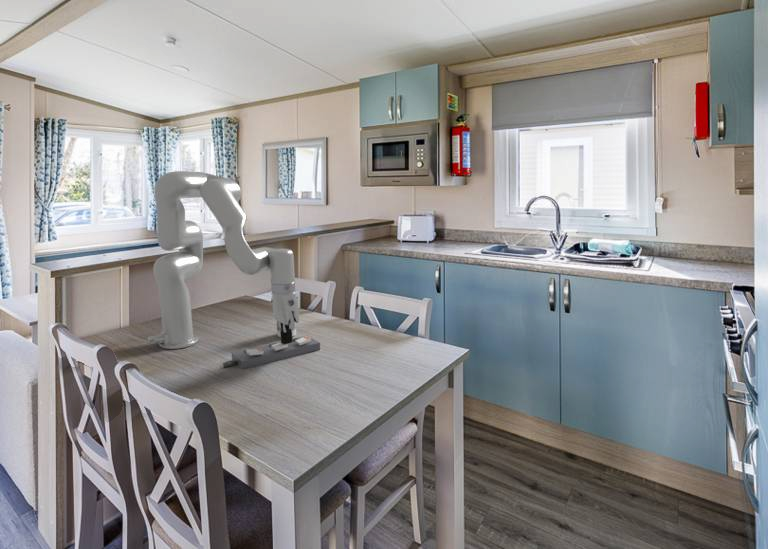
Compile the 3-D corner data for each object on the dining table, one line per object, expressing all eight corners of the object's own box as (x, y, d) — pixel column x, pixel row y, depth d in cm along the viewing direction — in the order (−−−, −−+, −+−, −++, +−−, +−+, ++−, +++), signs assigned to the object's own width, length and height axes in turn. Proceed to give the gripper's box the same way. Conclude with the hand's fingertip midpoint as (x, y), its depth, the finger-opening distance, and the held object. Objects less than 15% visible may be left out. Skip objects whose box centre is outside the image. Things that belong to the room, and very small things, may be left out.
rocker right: (299, 345, 150) (299, 342, 150) (295, 342, 153) (294, 340, 152) (311, 340, 153) (310, 338, 152) (306, 338, 155) (306, 335, 155)
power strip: (229, 372, 136) (228, 363, 135) (219, 362, 143) (218, 354, 142) (320, 349, 154) (319, 342, 154) (307, 342, 161) (307, 335, 161)
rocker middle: (275, 350, 145) (275, 347, 145) (271, 347, 148) (271, 345, 147) (288, 346, 148) (287, 343, 147) (283, 344, 150) (283, 341, 150)
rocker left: (249, 355, 140) (250, 352, 140) (245, 352, 142) (246, 349, 142) (263, 354, 143) (263, 351, 143) (259, 351, 145) (259, 348, 145)
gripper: (305, 290, 141) (308, 346, 145) (283, 282, 153) (287, 334, 157) (283, 294, 137) (286, 351, 140) (262, 285, 148) (266, 339, 152)
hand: (286, 342), depth 148 cm, fingers closed
